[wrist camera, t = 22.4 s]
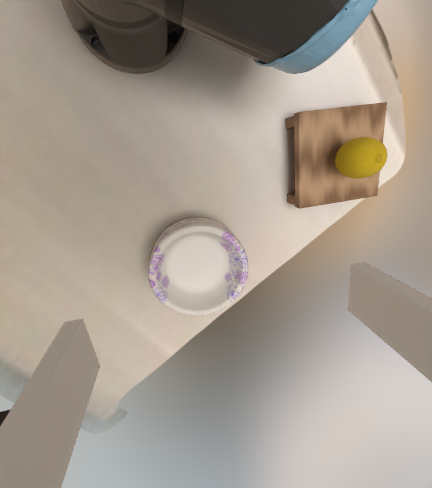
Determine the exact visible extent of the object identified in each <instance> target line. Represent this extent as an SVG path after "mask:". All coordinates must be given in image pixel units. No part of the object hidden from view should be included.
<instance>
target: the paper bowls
mask: <svg viewBox="0 0 432 488" xmlns="http://www.w3.org/2000/svg"><path fill="white" fill-rule="evenodd" d="M148 275H149V281H150V285H151V287H152V290H153V292H154V294H155V295H156V297H157V298H158V299H159V300H160V301H161V302H162V303H163V304H164V305H165V306H167V307H168V308H170V309H171V310H173V311H175V312H178V313H181V314H184V315H190V316H202V315H208V314H212V313H215V312H217V311H220V310H222V309H223V308H225V307H227V306H228V305H230V304H231V303H232V302H233V301H234V300H235V299H236V298H237V297H238V295H239V294H240V293H241V291H242V289H243V287H244V285H245V283H246V280H247V276H248V260H247V256H246V253H245V250H244V248H243V246H242V245H241V243H240V242H239V240H238V239H237V238H236V237H235V236H234V234H233V233H232V232H231V231H230V230H229V229H228V228H227V227H225V226H224V225H222V224H221V223H219V222H217V221H214V220H211V219H207V218H188V219H184V220H181V221H179V222H176V223H174V224H172V225H171V226H170V227H168V228H167V229H166V230H165V231H164V232H163V233H162V234H161V235H160V237H159V238H158V239H157V241H156V243H155V245H154V248H153V250H152V254H151V258H150V263H149V270H148Z"/></svg>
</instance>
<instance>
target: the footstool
mask: <svg viewBox="0 0 432 488" xmlns="http://www.w3.org/2000/svg"><path fill="white" fill-rule="evenodd" d="M386 105H387V102H385V103H376V104H367V105H359V106H350V107H341V108H332V109H324V110H315V111H306V112H298V113H295V114H294V116H293V117H290V118H287V119H285V120H286V128H293V127H294V142H295V193H291V194H287V202H289V203H291V204H294V205H295V207H297V208H299V209H300V208H306V207H312V206H318V205H324V204H330V203H336V202H342V201H348V200H354V199H360V198H366V197H372V196H377V193H378V183H379V173H380V171H379V172H377V173H376V174H374V175H372V176H369V177H366V178H358V179H354V178H350V177H346V176H344V175H343V174H341V173H340V172H339V171H338V169H337V167H336V164H335V158H336V154H337V152H338V150H339V149H340V147H341V146H342V145H343V144H345V143H346V142H347V141H349V140H352V139H354V138H359V137H369V138H374V139H377V140H379V141H380V142H382V143H383V134H384V125H385V115H386Z"/></svg>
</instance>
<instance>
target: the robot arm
mask: <svg viewBox="0 0 432 488" xmlns="http://www.w3.org/2000/svg"><path fill="white" fill-rule="evenodd" d="M377 1H378V0H62V3H63V6H64V9H65V11H66V14H67V16H68V18H69V20H70V22H71V24H72V26H73V27H74V29H75V31H76V32H77V34H78V35H79V36H80V38H81V39H82V40H83V42H84V43H85V44H86V46H87V47H88V48H89V49H90V50H91V51H92V52H93V53H94V54H95V55H96V56H97V57H98V58H99V59H101V60H102V61H103V62H105V63H107V64H108V65H110V66H112V67H114V68H116V69H119V70H121V71H125V72H129V73H147V72H151V71H155V70H157V69H159V68H161V67H163V66H164V65H166V64H167V63H168V62H169V61H171V60H172V59H173V57H174V56H175V55H176V54H177V52H178V51H179V49H180V48H181V46H182V44H183V41H184V39H185V36H186V32H187V29H188V30H191V31H193V32H195V33H197V34H199V35H202V36H204V37H206V38H208V39H211V40H213V41H215V42H217V43H219V44H222V45H224V46H226V47H228V48H231V49H233V50H235V51H237V52H239V53H242V54H244V55H246V56H248V57H251V58H253V59H254V60H255V62H256V63H258V64H259V65H262V66H271V67H274V68H276V69H279V70H282V71H284V72H287V73H290V74H296V73H303V72H307V71H310V70H312V69H314V68H316V67H317V66H319V65H320V64H322V63H323V62H325V61H326V60H327V59H329V58H330V57H331V56H332V55H333V54H334V53H335V52H336V51H337V50H338V49H339V48H341V46H342V45H343V44H344V43H345V42H346V41H347V40H348V39H349V38H350V37H351V36H352V35H353V33H354V32H355V31H356V30H357V29H358V27H359V26H360V25H361V24H362V22H363V21H364V20H365V18H366V17H367V16H368V14H369V13H370V11H371V10H372V9H373V7H374V6H375V4H376V2H377ZM348 311H350V312H351V313H352V314H353V315H354V316H355V317H357V318H358V319H359V320H360V321H361V322H362V323H364V324H365V325H366V326H367V327H368V328H369V329H371V330H372V331H373V332H374V333H375V334H377V336H379V337H380V338H381V339H382V340H383V341H385V342H386V343H387V344H388V345H389V346H390V347H391V348H393V349H394V350H395V351H396V352H397V353H399V354H400V355H401V356H402V357H403V358H404V359H406V360H407V361H408V362H409V363H410V364H411V365H412V366H414V367H415V368H416V369H417V370H418V371H419V372H421V373H422V374H423V375H424V376H426V378H428V379H429V380H430V381H431V382H432V298H430V297H429V296H426V295H425V294H423V293H421V292H419V291H417V290H416V289H414V288H412V287H410V286H408V285H406V284H404V283H403V282H401V281H399V280H397V279H395V278H393V277H392V276H390V275H388V274H386V273H384V272H382V271H380V270H379V269H377V268H375V267H373V266H371V265H369V264H367V263H365V262H362V263H357V264H352V265H351V274H350V288H349V300H348ZM99 368H100V364H99V362H98V359H97V356H96V353H95V351H94V348H93V345H92V342H91V340H90V337H89V334H88V332H87V329H86V326H85V323H84V321H83V319H78V320H73V321H68V322H65V323H64V324H63V326H62V327H61V329H60V331H59V332H58V334H57V335H56V337H55V339H54V340H53V342H52V344H51V345H50V347H49V348H48V350H47V352H46V353H45V355H44V357H43V358H42V360H41V361H40V363H39V365H38V366H37V368H36V370H35V371H34V373H33V374H32V376H31V378H30V379H29V381H28V382H27V384H26V386H25V387H24V389H23V391H22V392H21V394H20V395H19V397H18V399H17V400H16V402H15V404H14V405H13V407H12V409H11V410H7V411H3V412H0V488H61V486H62V483H63V479H64V477H65V473H66V470H67V467H68V464H69V461H70V458H71V455H72V452H73V449H74V445H75V442H76V439H77V436H78V433H79V430H80V427H81V424H82V421H83V417H84V414H85V411H86V408H87V405H88V402H89V399H90V396H91V392H92V389H93V386H94V383H95V380H96V377H97V374H98V371H99Z"/></svg>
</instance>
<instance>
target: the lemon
mask: <svg viewBox="0 0 432 488" xmlns="http://www.w3.org/2000/svg"><path fill="white" fill-rule="evenodd" d="M386 159H387V150H386V148H385V146H384V145H383V143H382V142H380V141H379V140H377V139H374V138H369V137H359V138H354V139H352V140H349V141H347V142H346V143H345V144H343V145H342V146H341V147H340V149H339V150H338V152H337V154H336V158H335V164H336V167H337V169H338V171H339V172H340V173H341V174H343V175H344V176H346V177H350V178H354V179H358V178H366V177H369V176H372V175H374V174H376V173H377V172H379V171H380V170H381V169H382V167H383V166H384V164H385V162H386Z"/></svg>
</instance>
